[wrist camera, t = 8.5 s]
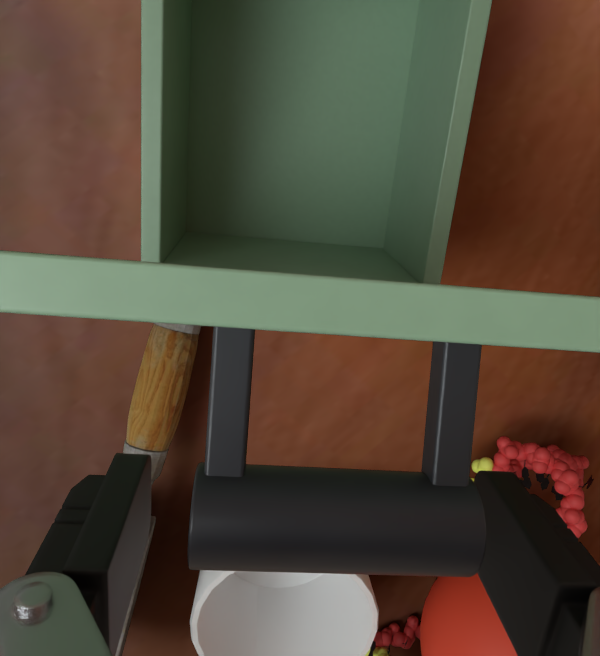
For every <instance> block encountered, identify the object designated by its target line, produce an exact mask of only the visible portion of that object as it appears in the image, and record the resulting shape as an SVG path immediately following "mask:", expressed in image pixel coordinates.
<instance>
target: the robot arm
mask: <svg viewBox="0 0 600 656" xmlns="http://www.w3.org/2000/svg"><path fill="white" fill-rule="evenodd" d="M474 483H475V485H476V487H477V489H478V491H479V494H480V497H481V500H482V504H483V508H484V514H485V522H486V547H485V554H484V559H483V562H482V565H481V567H480V569H479V571H478V572H477V574H478V576H479V578H480V580H481V582H482V584H483V586H484V588H485V590H486V592H487V594H488V596H489V598H490V600H491V602H492V604H493V606H494V608H495V610H496V612H497V614H498V616H499V619H500V621H501V623H502V625H503V627H504V629H505V631H506V633H507V635H508V637H509V639H510V641H511V643H512V645H513V647H514V649H515V651H516V653H517V655H518V656H600V566H599V565H598V564H597V562H596V561H595V560H594V559H593V557H592V556H591V555H590V553H589V552H588V551H587V550H586V548H585V547H584V546H583V545H582V543H581V542H578V538H577V537H576V536H575V534H574V533H573V532H572V530H571V529H570V528H567V524H566V523H565V522H564V520H563V519H562V518H561V516H560V515H559V514H558V513H557V511H556V510H555V509H554V508H553V507H551V506H550V505H549V504H547V503H546V502H545V501H543V500H542V499H541V498H539V497H538V496H537V495H535V494H529V493H528V491H527V490H526V488H525V487H524V486H523V484H522V483H521V482H520V480H519V479H518V478H517V476H516V475H515V474H514V473H512V472H504V471H479V472H478V473H477V474H476V476H475V479H474ZM150 520H151V456H150V455H149V454H127V453H116V455H115V456H114V458H113V461H112V463H111V465H110V467H109V469H108V471H107V474H106V475H88V476H87V477H86V478H84V479H83V480H82V481H81V482H79V483H78V484H77V485H76V486H74V487H73V488H72V489H71V490H70V492H69V494H68V496H67V498H66V500H65V502H64V503H63V505H62V509H60V511H59V513H58V515H57V517H56V518H55V522H54V523H53V524H52V526H51V528H50V530H49V531H48V533H47V535H46V537H45V539H44V541H43V543H42V545H41V546H40V548H39V550H38V552H37V554H36V556H35V558H34V559H33V561H32V563H31V565H30V567H29V569H28V571H27V573H26V574H25V576H22V577H20V578H18V579H15V580H14V581H12V582H10V583H8V584H7V585H6V586H4V587H3V588H1V589H0V656H115V654H116V651H117V647H118V644H119V640H120V636H121V633H122V629H123V626H124V622H125V619H126V615H127V612H128V608H129V604H130V601H131V597H132V594H133V590H134V587H135V583H136V579H137V576H138V572H139V569H140V565H141V562H142V558H143V554H144V551H145V547H146V544H147V540H148V535H149V529H150Z"/></svg>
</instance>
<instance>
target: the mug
mask: <svg viewBox="0 0 600 656" xmlns="http://www.w3.org/2000/svg"><path fill="white" fill-rule="evenodd" d="M378 619H379V608H378V605H377V602H376V598H375V595H374V592H373V588H372V585H371V582H370V578H369V575H364V574H326V573H288V572H250V571H213V570H200V573H199V578H198V582H197V587H196V592H195V597H194V602H193V607H192V612H191V617H190V629H191V640H192V642H193V644H194V646H195V648H196V651H197V653H198V655H199V656H365V655H366V654H367V652H368V651H369V650H370V647H371V645H372V642H373V640H374V637H375V635H376V632H377V630H378Z"/></svg>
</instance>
